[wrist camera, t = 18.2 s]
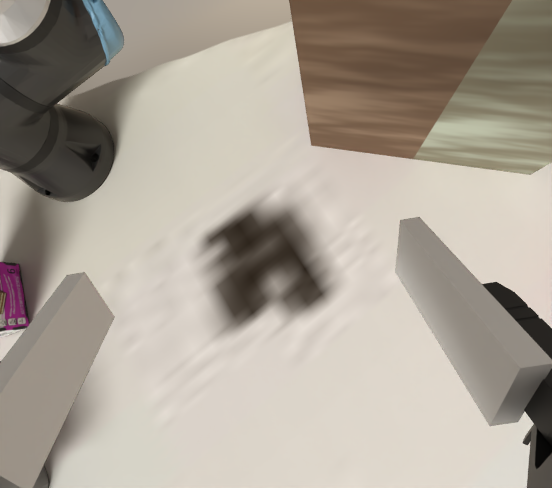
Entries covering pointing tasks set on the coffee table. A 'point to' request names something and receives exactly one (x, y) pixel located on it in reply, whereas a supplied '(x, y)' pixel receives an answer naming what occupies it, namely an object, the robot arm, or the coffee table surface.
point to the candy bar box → (11, 300)
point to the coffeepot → (42, 479)
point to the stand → (429, 79)
